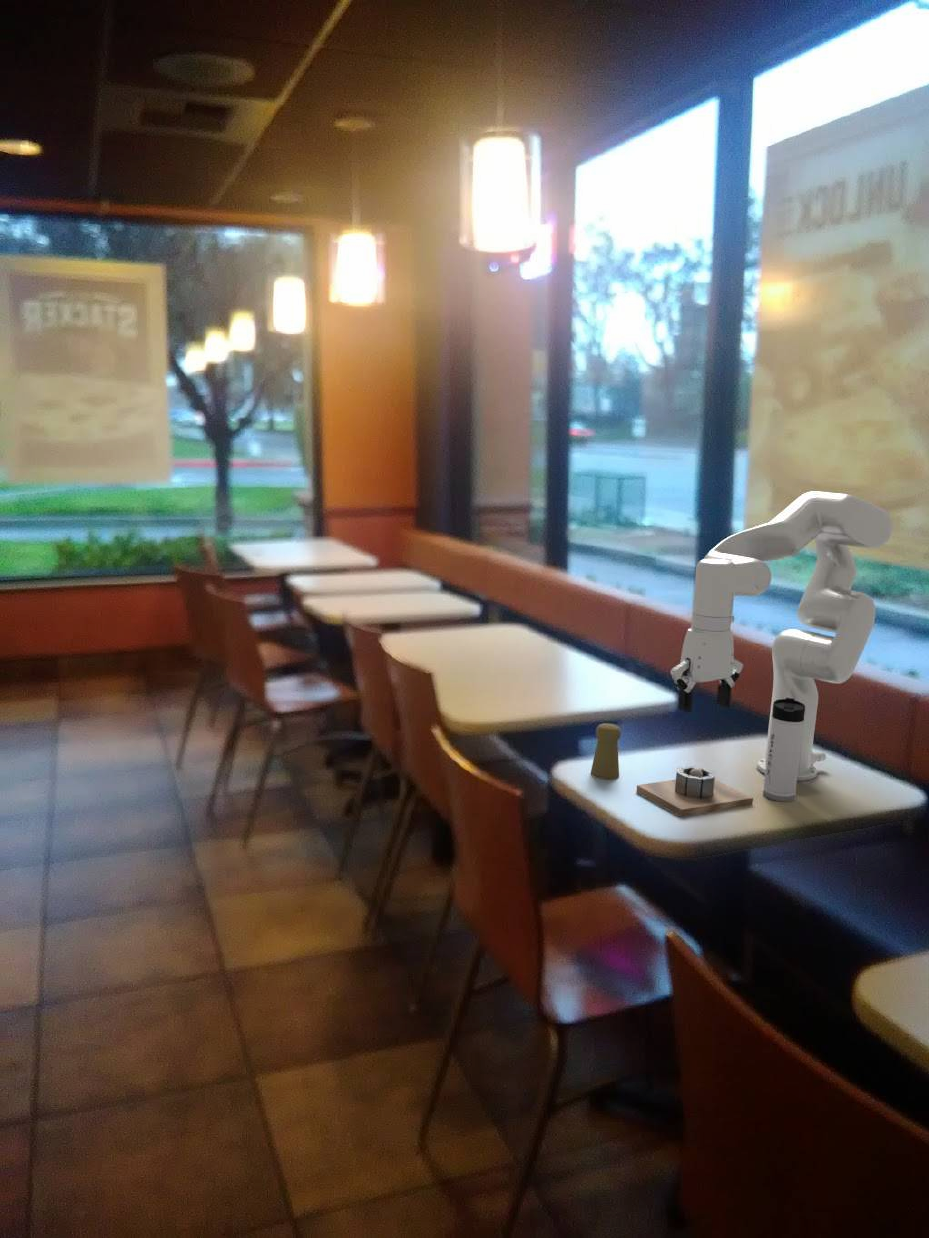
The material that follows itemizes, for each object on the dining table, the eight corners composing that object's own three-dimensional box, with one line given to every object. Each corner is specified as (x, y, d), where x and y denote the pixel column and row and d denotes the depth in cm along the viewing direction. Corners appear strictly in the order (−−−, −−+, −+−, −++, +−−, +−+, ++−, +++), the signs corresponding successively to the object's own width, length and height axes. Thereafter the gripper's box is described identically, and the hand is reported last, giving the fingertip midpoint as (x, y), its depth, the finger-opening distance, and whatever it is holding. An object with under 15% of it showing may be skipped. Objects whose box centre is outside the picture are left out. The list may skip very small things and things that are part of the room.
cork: (618, 781, 213) (622, 730, 211) (589, 777, 214) (593, 727, 212) (620, 771, 219) (624, 722, 217) (591, 768, 220) (595, 719, 218)
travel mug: (795, 793, 211) (806, 699, 207) (794, 803, 205) (805, 707, 201) (763, 788, 213) (774, 695, 209) (762, 798, 207) (772, 703, 203)
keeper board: (705, 781, 215) (708, 753, 214) (752, 804, 203) (755, 774, 202) (636, 792, 207) (639, 762, 206) (681, 817, 195) (684, 785, 194)
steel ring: (696, 783, 210) (697, 764, 209) (720, 795, 203) (722, 776, 203) (667, 787, 206) (669, 768, 205) (692, 800, 200) (694, 780, 199)
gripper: (732, 616, 206) (724, 698, 209) (663, 621, 198) (657, 707, 201) (758, 624, 199) (750, 708, 203) (689, 629, 191) (681, 717, 195)
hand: (704, 707), depth 202 cm, fingers open, 9 cm apart
